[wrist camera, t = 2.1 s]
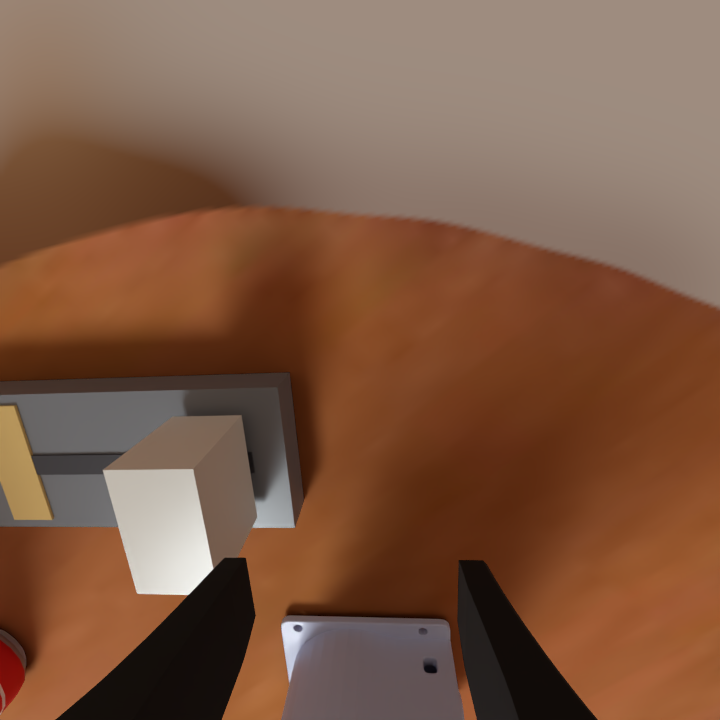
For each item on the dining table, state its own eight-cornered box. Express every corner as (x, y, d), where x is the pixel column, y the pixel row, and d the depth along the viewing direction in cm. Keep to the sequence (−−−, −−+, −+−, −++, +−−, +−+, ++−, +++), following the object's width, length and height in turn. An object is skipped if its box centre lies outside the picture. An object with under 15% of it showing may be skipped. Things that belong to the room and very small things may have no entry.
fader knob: (241, 415, 15) (192, 469, 12) (257, 517, 17) (218, 595, 13) (172, 416, 16) (102, 470, 12) (193, 516, 17) (137, 593, 13)
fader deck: (289, 372, 17) (276, 388, 15) (304, 500, 19) (294, 529, 17) (-22, 382, 19) (-72, 398, 17) (21, 500, 21) (-19, 528, 19)
